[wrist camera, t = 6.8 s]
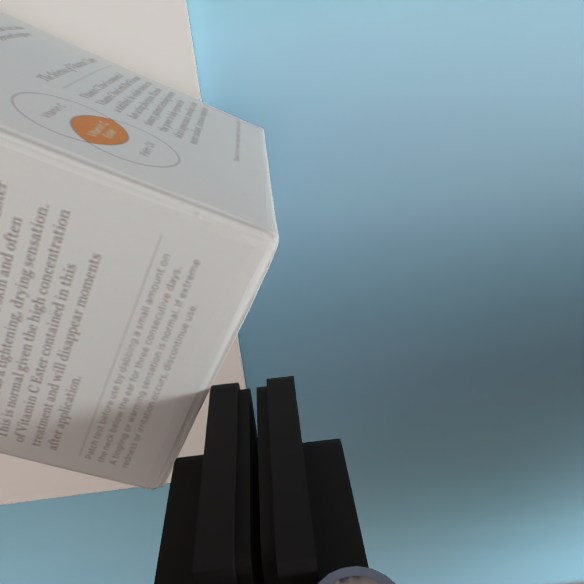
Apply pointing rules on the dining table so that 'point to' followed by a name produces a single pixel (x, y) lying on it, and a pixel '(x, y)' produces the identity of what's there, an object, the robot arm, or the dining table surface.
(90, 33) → the mat
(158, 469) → the small box
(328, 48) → the dining table surface
